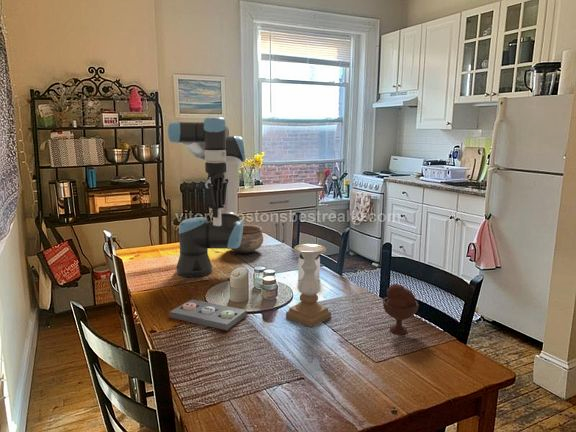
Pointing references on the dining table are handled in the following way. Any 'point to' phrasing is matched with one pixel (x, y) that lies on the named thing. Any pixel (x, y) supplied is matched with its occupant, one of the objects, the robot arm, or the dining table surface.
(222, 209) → the robot arm
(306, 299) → the candle holder
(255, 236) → the cooking pot
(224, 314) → the button one
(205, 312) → the button three
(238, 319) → the keypad board
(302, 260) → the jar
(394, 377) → the dining table surface
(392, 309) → the ice cream bowl
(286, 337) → the dining table surface
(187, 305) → the button two
